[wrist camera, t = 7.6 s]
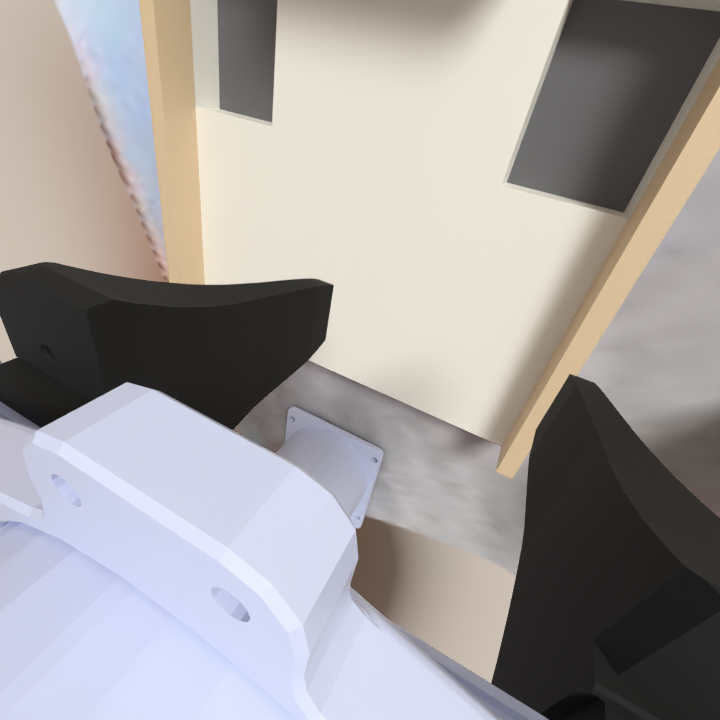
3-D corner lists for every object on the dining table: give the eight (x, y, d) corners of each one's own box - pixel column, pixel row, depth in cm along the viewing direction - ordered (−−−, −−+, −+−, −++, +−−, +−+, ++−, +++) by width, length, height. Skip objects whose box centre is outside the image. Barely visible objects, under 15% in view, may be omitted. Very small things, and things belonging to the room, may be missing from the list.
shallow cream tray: (519, 430, 22) (512, 479, 19) (218, 301, 28) (173, 321, 25) (965, -335, 8) (1201, -620, 5) (200, -269, 14) (97, -385, 11)
